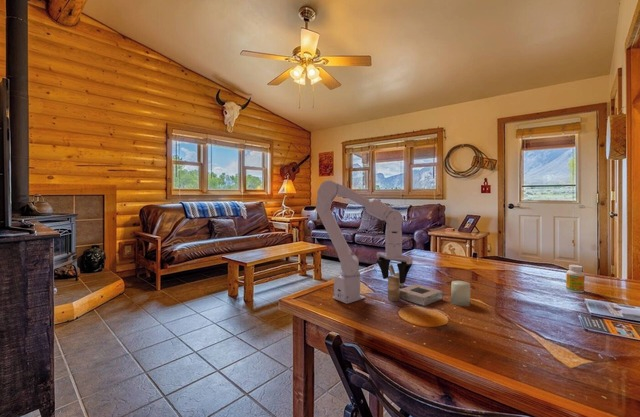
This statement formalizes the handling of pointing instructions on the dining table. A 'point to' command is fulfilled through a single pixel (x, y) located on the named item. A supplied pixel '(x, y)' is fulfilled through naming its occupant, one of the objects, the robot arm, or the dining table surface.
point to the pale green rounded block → (460, 293)
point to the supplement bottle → (575, 279)
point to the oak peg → (393, 288)
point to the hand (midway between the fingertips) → (393, 280)
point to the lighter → (395, 274)
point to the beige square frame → (420, 294)
